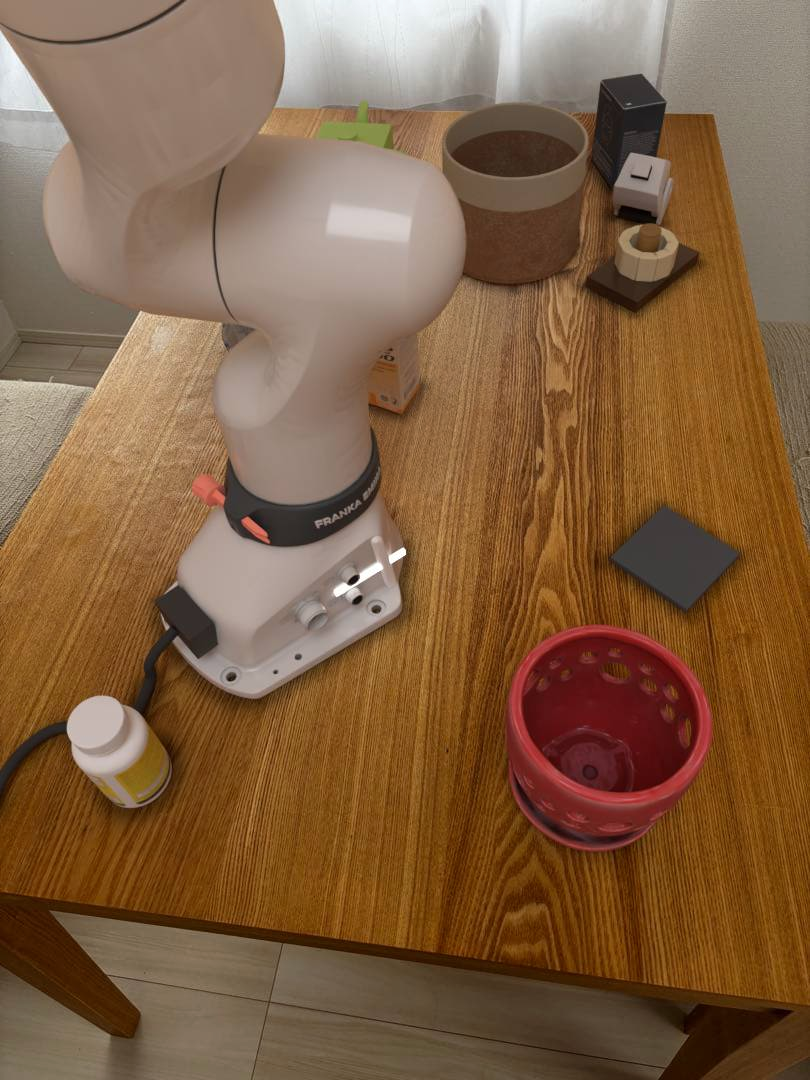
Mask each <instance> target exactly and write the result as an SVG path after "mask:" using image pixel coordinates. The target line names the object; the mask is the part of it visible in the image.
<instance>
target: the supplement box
mask: <svg viewBox="0 0 810 1080" xmlns="http://www.w3.org/2000/svg"><path fill="white" fill-rule="evenodd" d="M418 338H419V337H418V333H417V334H415V335H412V336H410V337H407V338H405V339H404V340H402V341H400V342H398V343H396V344H395V345H394V346H392V347H391V348H390V349H388V350H387V351H386V352H385V353H384V354H383V355H382V356H381V357H380V358H379V359H378V360H377V362H376V363H375V365H374V366H373V368H372V371H371V373H370V376H369V380H368V405H369V404H370V405H373V406H376V407H379V408H381V409H384V410H387V411H390V412H393V413H395V414H399V415H403V413H404V411H405V410H406V408H407V407H408V405H409V404H410V402H411V401H412V399H413V398H414V396H415V395H416V393H417V391H418V390H419V389H420V365H419V364H420V363H419V361H420V360H419V339H418Z"/></svg>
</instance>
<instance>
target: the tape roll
mask: <svg viewBox="0 0 810 1080" xmlns="http://www.w3.org/2000/svg"><path fill="white" fill-rule="evenodd" d="M642 225H643V224H637V225H633V226H632V227H629V228H626V229H625V230H623V231H622V233H621V234H620V236H619V237H618V238H617V245H616V250H615V255H616V256H615V255H614V256H615V265H616V267H617V269H618V271H619V273H620V274H622V275H624V276H626V277H628V278H630V279H632V280H635V281H647V282H652V281H657V280H659V279H662V278H664V277H667V276H668V275H669V274H670V272H671V270H672V268H673V267H674V263H675V258H676V254H677V250H678V245H679V243H680V242H679V240H678V239H677V237H676V235H675V234H674V232H672V231H671V230H669V229H666V228H664V227H662V226H660V225H658V226H659V227H660V228H661V230H662V232H661V237H660V241H659V246H658V251H657V252H655V253H650V252H641V251H639V250H637V249H636V245H637V240H638V234H639V229H640V227H641V226H642Z"/></svg>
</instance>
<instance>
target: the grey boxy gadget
mask: <svg viewBox="0 0 810 1080" xmlns="http://www.w3.org/2000/svg"><path fill="white" fill-rule="evenodd" d="M671 168H672V162H671V161H670V160H668V159H665V158H661V157H652V156H647V155H642V154H636V153H630V155H629V156H628V158H627V160H626V162H625V164H624V166H623V168H622V170H621V173H620V175H619V177H618V179H617V181H616V183H615V185H614V189H612V198H611V199H612V200H611V202H612V207H613V215H614V216H616V217H617V218H618V219H619V218H621V219H625V220H630V221H633V222H638V223H642V224H648V223H651V224H656V225H658V226H660V225H661V224H662V221H663V219H664V216H665V214H666V210H667V207H668V205H669V203H670V202H669V201H670V199H671V195H672V192H673V189H674V183H675V179H674V177H669V175H670V172H671Z"/></svg>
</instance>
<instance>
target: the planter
mask: <svg viewBox="0 0 810 1080" xmlns="http://www.w3.org/2000/svg"><path fill="white" fill-rule="evenodd" d="M441 138H442V139H441V160H442V162H441V163H442V173H443V174H444V175H445V176H446V178H447V179H448V181H449V183H450V184H451V186H452V188H453V190H454V192H455V194H456V196H457V198H458V201H459V203H460V206H461V209H462V213H463V217H464V222H465V229H466V256H465V263H464V268H463V272H462V273H464V274H466V275H467V276H469V277H472V278H475V279H477V280H480V281H483V282H488V283H495V284H502V285H503V284H506V285H510V284H511V285H512V284H514V285H515V284H516V285H517V284H526V283H531V282H535V281H539V280H542V279H545V278H547V277H550V276H552V275H554V274H556V273H557V272H559V271H561V270H562V269H563V268H565V267H566V266H567V265H568V264H569V263H570V261H571V260H572V258H573V257H574V255H575V253H576V250H577V245H578V237H579V228H580V220H581V210H582V203H583V194H584V186H585V177H586V170H587V169H586V168H587V159H588V152H589V145H590V144H589V141H590V138H589V134H588V131H587V130H586V127H585V126H584V125H583V123H582V122H581V121H579V120H578V119H577V118H576V117H575V116H574V115H571V114H570V113H568V112H566V111H564V110H562V109H559V108H557V107H553V106H549V105H546V104H541V103H533V102H524V101H523V102H520V101H519V102H518V101H517V102H516V101H515V102H513V101H512V102H502V103H496V104H495V103H494V104H490V105H489V104H488V105H484V106H481V107H477V108H475V109H472V110H470V111H468V112H465V113H464V114H462V115H460V116H459V117H458V118H456V119H454V120H453V121H452V122H451V123H450V124H449V125H448V127H446V129H445V131H444V133H443V135H442V137H441Z"/></svg>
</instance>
